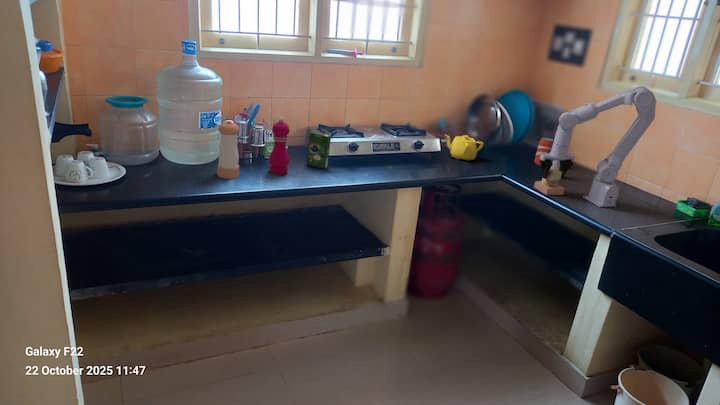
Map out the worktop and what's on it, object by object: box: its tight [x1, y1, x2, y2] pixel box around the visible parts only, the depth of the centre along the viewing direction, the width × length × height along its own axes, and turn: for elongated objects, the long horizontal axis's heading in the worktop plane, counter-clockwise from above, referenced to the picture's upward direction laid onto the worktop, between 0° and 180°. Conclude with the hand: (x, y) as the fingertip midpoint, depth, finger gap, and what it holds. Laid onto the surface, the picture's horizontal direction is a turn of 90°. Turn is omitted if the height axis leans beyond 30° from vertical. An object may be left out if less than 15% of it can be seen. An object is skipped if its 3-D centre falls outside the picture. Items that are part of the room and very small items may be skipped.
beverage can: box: [533, 137, 554, 167], centre depth 233 cm, size 6×6×12 cm
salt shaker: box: [216, 120, 241, 180], centre depth 175 cm, size 7×7×19 cm
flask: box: [551, 160, 562, 180], centre depth 219 cm, size 7×7×10 cm
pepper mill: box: [268, 117, 290, 176], centre depth 184 cm, size 7×7×20 cm
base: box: [533, 180, 566, 196], centre depth 202 cm, size 8×8×2 cm
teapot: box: [444, 134, 485, 162], centre depth 229 cm, size 14×13×10 cm
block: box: [541, 168, 562, 187], centre depth 200 cm, size 4×4×6 cm
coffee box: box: [306, 130, 332, 170], centre depth 195 cm, size 8×3×13 cm, turn 71°
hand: (552, 177), depth 200 cm, fingers open, 7 cm apart
